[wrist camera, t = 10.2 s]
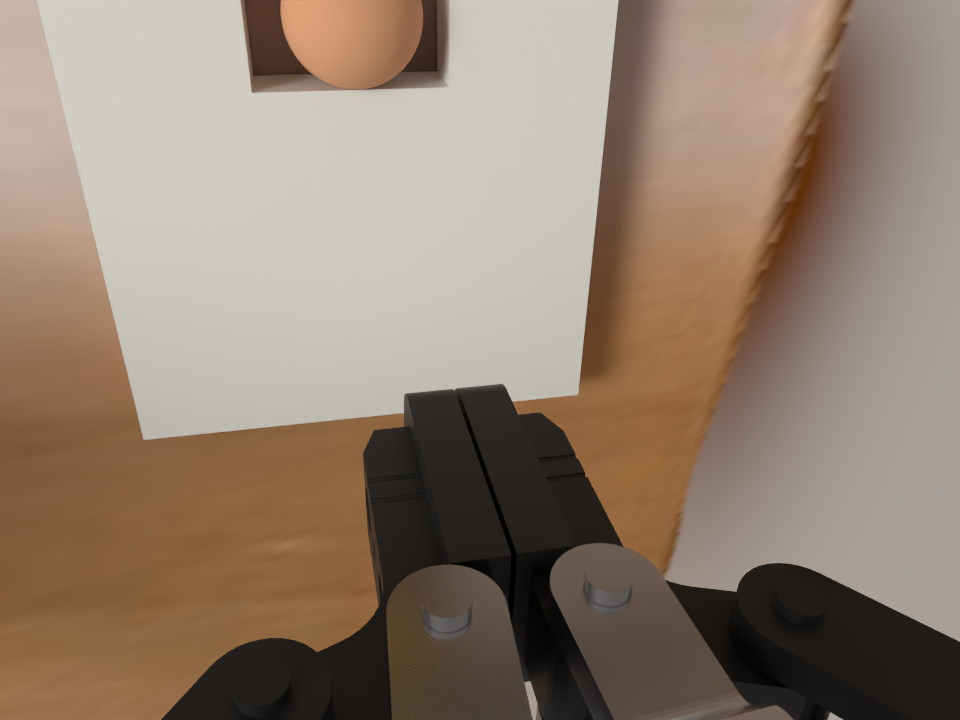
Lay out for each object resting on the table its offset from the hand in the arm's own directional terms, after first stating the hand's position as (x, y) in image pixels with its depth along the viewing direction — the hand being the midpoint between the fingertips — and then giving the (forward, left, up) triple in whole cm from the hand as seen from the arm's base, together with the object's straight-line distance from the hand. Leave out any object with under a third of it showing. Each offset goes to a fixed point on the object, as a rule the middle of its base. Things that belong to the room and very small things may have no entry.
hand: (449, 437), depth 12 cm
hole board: (0, 0, -21) cm, 21 cm away
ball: (+3, +2, -18) cm, 19 cm away
